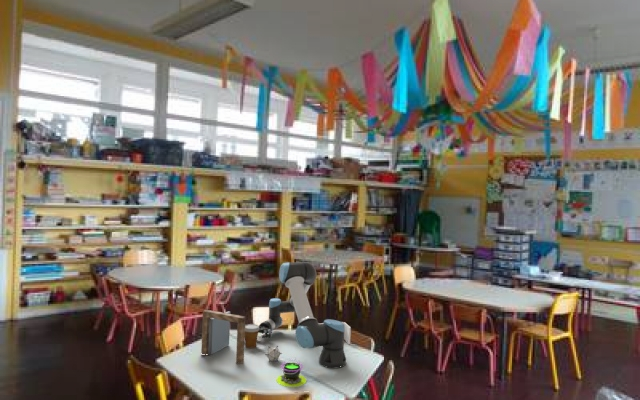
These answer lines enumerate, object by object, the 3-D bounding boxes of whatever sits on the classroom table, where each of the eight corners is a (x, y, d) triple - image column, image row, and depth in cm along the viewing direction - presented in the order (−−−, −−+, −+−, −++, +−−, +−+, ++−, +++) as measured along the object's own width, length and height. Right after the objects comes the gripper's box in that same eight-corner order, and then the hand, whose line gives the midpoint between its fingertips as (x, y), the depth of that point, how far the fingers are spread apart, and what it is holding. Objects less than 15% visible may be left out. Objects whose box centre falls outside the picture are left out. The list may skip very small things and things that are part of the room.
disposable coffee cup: (258, 343, 280) (259, 323, 279) (258, 349, 270) (259, 328, 270) (242, 343, 278) (243, 323, 278) (242, 349, 269) (243, 328, 268)
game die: (274, 368, 252) (278, 358, 245) (261, 361, 253) (264, 351, 247) (282, 356, 259) (285, 346, 252) (268, 349, 260) (271, 339, 254)
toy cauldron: (270, 378, 230) (271, 357, 230) (294, 371, 240) (295, 351, 240) (288, 390, 219) (289, 367, 219) (312, 382, 229) (313, 360, 228)
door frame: (243, 362, 250) (245, 316, 249) (240, 363, 247) (242, 318, 246) (204, 353, 260) (206, 309, 259) (201, 354, 257) (202, 310, 256)
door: (209, 355, 256) (211, 319, 255) (204, 354, 257) (205, 318, 256) (229, 344, 273) (230, 311, 272) (224, 343, 274) (225, 310, 273)
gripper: (283, 336, 287) (267, 346, 267) (249, 329, 296) (231, 339, 277) (284, 324, 286) (267, 333, 267) (250, 318, 296) (231, 326, 277)
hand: (248, 336), depth 272 cm, fingers open, 13 cm apart
